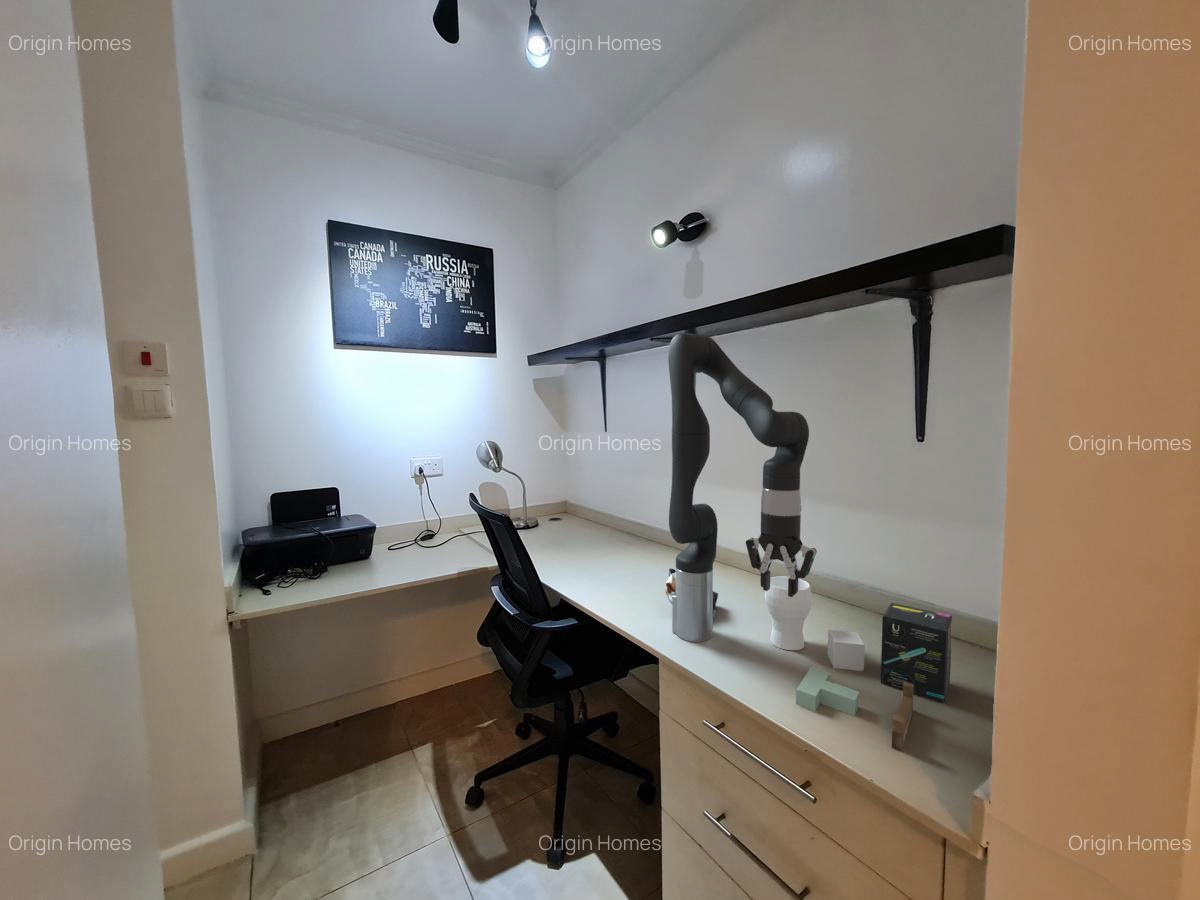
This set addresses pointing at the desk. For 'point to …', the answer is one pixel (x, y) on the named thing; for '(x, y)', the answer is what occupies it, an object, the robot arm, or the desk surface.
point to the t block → (825, 693)
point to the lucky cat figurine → (671, 589)
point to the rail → (902, 717)
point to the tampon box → (916, 650)
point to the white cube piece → (846, 650)
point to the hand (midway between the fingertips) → (779, 592)
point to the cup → (788, 612)
